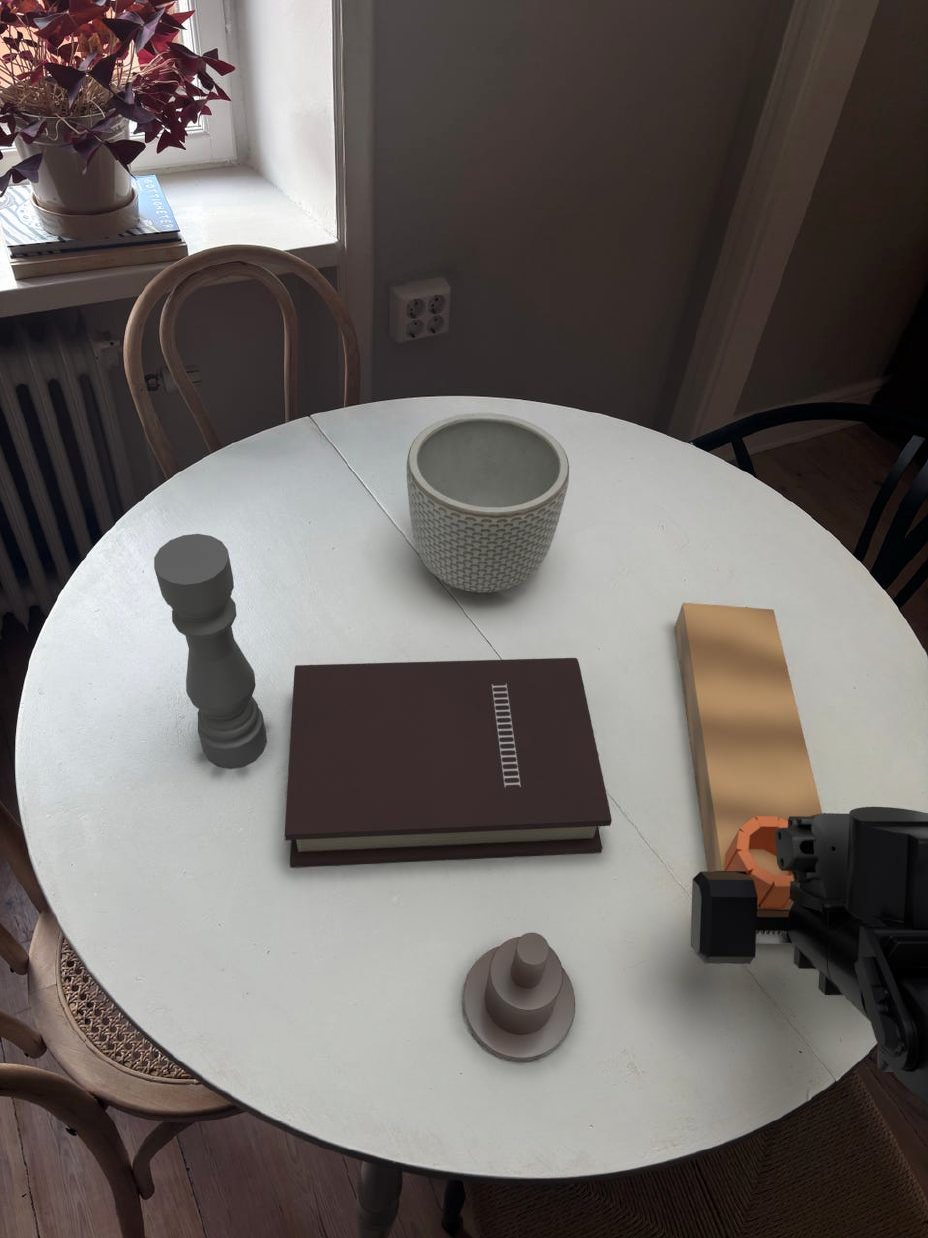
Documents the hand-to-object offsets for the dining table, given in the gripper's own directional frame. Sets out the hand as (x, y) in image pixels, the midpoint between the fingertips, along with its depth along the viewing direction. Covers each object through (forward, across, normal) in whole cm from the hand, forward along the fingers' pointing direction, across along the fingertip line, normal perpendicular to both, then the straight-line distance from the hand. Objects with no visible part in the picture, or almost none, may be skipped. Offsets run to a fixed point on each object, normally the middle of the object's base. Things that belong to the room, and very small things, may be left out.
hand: (776, 880), depth 75 cm
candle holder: (+17, +48, -8) cm, 51 cm away
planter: (+34, +23, -26) cm, 49 cm away
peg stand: (-1, +21, +10) cm, 24 cm away
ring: (+3, 0, 0) cm, 3 cm away
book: (+15, +28, -6) cm, 32 cm away
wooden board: (+15, -2, -6) cm, 17 cm away
